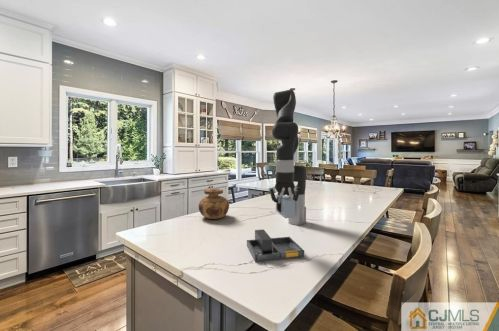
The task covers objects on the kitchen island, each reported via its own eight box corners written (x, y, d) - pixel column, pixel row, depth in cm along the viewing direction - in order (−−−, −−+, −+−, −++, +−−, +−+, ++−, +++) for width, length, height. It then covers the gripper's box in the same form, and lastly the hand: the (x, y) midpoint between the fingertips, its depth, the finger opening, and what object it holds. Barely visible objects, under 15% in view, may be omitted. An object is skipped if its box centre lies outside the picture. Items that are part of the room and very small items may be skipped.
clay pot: (236, 215, 148) (223, 185, 145) (207, 229, 144) (193, 199, 140) (229, 207, 167) (217, 181, 163) (203, 219, 162) (191, 193, 158)
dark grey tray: (289, 242, 113) (289, 226, 112) (304, 257, 97) (304, 238, 96) (246, 245, 109) (246, 229, 108) (255, 262, 93) (255, 243, 92)
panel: (284, 210, 109) (284, 194, 109) (294, 217, 98) (294, 200, 97) (275, 210, 108) (275, 195, 108) (285, 218, 97) (285, 200, 96)
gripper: (297, 169, 107) (296, 208, 108) (265, 170, 104) (265, 210, 105) (304, 171, 100) (304, 212, 101) (271, 172, 97) (271, 214, 98)
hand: (284, 211), depth 103 cm, fingers closed on panel, 4 cm apart
